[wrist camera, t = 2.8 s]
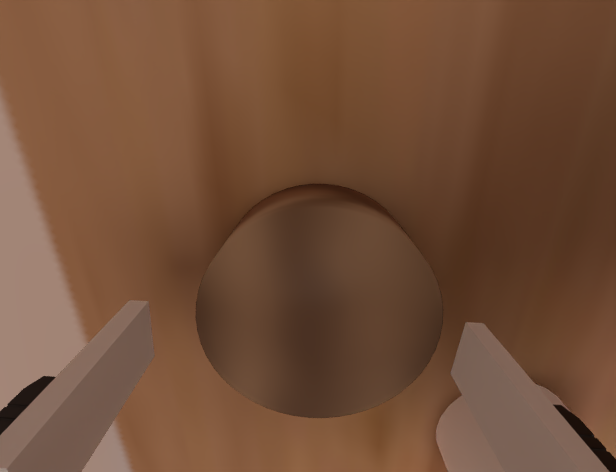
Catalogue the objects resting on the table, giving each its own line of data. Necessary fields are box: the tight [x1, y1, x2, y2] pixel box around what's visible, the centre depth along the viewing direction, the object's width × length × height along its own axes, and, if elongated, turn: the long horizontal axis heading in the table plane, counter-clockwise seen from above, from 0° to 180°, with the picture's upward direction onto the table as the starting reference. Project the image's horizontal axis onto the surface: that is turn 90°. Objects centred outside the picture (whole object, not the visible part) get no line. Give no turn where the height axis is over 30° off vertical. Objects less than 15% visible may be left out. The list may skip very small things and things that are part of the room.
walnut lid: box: [196, 184, 443, 418], centre depth 17 cm, size 11×11×5 cm
